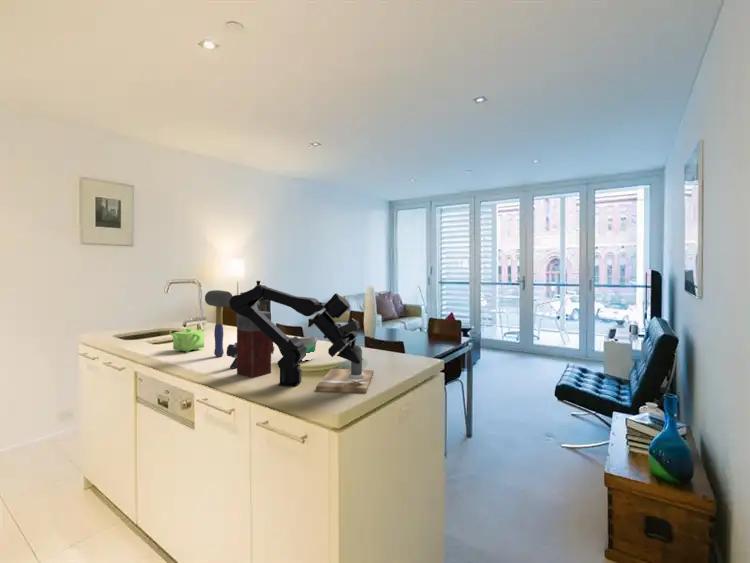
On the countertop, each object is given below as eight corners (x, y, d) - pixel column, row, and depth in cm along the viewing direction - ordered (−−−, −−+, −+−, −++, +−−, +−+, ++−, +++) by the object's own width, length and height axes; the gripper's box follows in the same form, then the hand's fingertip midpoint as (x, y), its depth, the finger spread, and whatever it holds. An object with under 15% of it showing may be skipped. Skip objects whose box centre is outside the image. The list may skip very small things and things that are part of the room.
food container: (290, 362, 166) (290, 339, 165) (289, 359, 171) (289, 336, 171) (319, 361, 169) (319, 338, 169) (317, 358, 175) (317, 335, 175)
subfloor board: (316, 390, 127) (316, 385, 127) (331, 372, 150) (331, 368, 150) (366, 392, 125) (366, 387, 125) (373, 374, 148) (373, 369, 148)
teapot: (169, 354, 180) (169, 331, 180) (172, 349, 192) (172, 327, 192) (205, 352, 186) (205, 329, 185) (206, 347, 198) (206, 326, 198)
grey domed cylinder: (345, 377, 130) (345, 345, 130) (354, 374, 135) (355, 343, 134) (358, 380, 127) (358, 347, 127) (367, 376, 132) (367, 344, 132)
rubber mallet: (234, 356, 176) (234, 290, 175) (219, 359, 169) (219, 291, 169) (218, 353, 183) (218, 289, 182) (203, 356, 177) (203, 290, 176)
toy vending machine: (275, 371, 151) (276, 299, 150) (252, 377, 141) (252, 300, 141) (260, 368, 156) (260, 298, 155) (236, 374, 146) (236, 299, 146)
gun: (221, 367, 152) (226, 341, 153) (267, 368, 173) (271, 345, 175) (226, 368, 150) (231, 342, 152) (271, 369, 172) (275, 346, 174)
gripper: (338, 314, 122) (372, 351, 120) (352, 309, 140) (381, 340, 139) (314, 338, 123) (347, 375, 122) (330, 329, 142) (359, 361, 140)
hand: (360, 361), depth 131 cm, fingers closed on grey domed cylinder, 4 cm apart
